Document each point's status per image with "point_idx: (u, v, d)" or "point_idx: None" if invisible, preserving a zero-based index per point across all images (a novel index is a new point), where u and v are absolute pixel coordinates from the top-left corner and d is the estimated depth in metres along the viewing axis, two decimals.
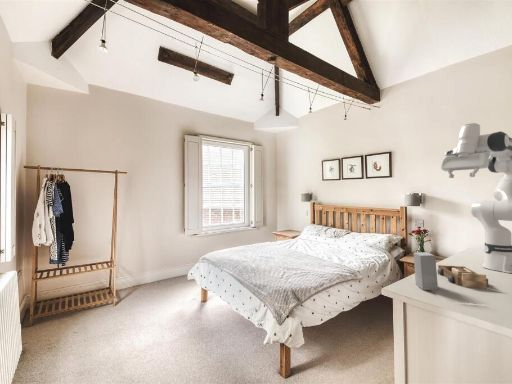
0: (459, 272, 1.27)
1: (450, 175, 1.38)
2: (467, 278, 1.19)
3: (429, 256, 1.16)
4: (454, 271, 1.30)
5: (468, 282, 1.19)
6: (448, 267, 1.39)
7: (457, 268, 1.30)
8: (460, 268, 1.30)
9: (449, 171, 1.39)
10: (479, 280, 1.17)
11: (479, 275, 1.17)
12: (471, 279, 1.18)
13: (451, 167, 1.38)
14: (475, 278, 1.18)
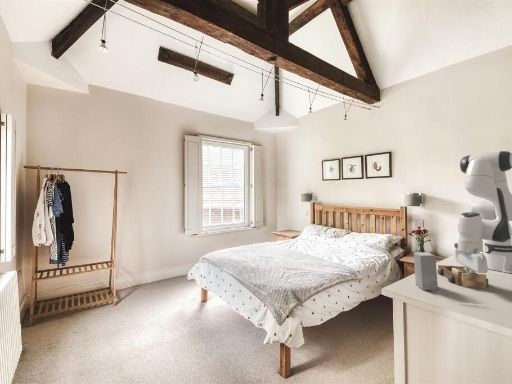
0: (459, 272, 1.27)
1: None
2: (467, 278, 1.19)
3: (429, 256, 1.16)
4: (454, 271, 1.30)
5: (468, 282, 1.19)
6: (448, 267, 1.39)
7: (457, 268, 1.30)
8: (460, 268, 1.30)
9: None
10: (479, 280, 1.17)
11: (479, 275, 1.17)
12: (471, 279, 1.18)
13: (461, 263, 1.25)
14: (475, 278, 1.18)
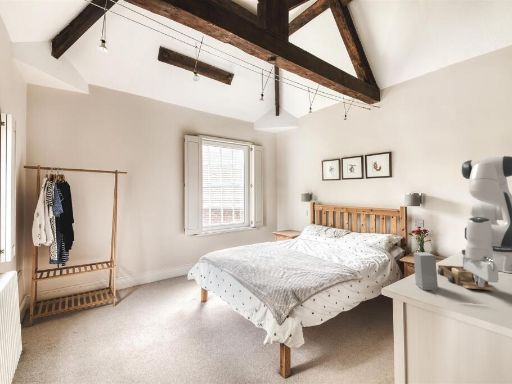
0: (459, 272, 1.27)
1: (476, 283, 1.15)
2: None
3: (429, 256, 1.16)
4: (454, 271, 1.30)
5: None
6: (448, 267, 1.39)
7: (457, 268, 1.30)
8: (460, 268, 1.30)
9: (475, 277, 1.16)
10: None
11: (486, 289, 1.13)
12: None
13: (469, 270, 1.19)
14: (480, 288, 1.14)
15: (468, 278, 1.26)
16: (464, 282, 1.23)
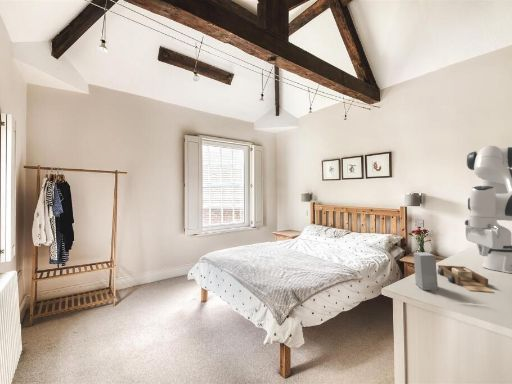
0: (459, 272, 1.27)
1: (479, 252, 1.12)
2: None
3: (429, 256, 1.16)
4: (454, 271, 1.30)
5: None
6: (448, 267, 1.39)
7: (457, 268, 1.30)
8: (460, 268, 1.30)
9: None
10: None
11: None
12: None
13: (472, 241, 1.16)
14: None
15: (468, 278, 1.26)
16: (464, 282, 1.23)
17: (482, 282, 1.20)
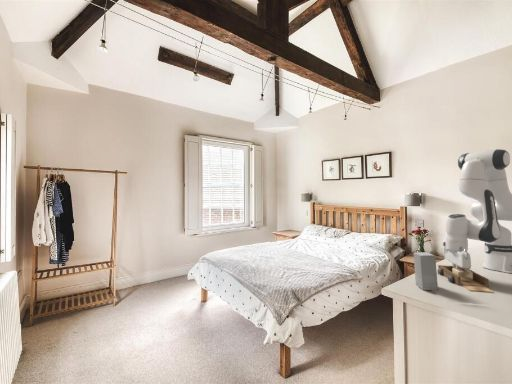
0: (460, 273, 1.26)
1: None
2: None
3: (429, 256, 1.16)
4: (455, 271, 1.29)
5: None
6: (448, 267, 1.39)
7: (458, 268, 1.29)
8: None
9: (453, 265, 1.35)
10: None
11: None
12: None
13: (449, 260, 1.38)
14: None
15: (469, 279, 1.25)
16: (464, 282, 1.23)
17: (482, 282, 1.20)
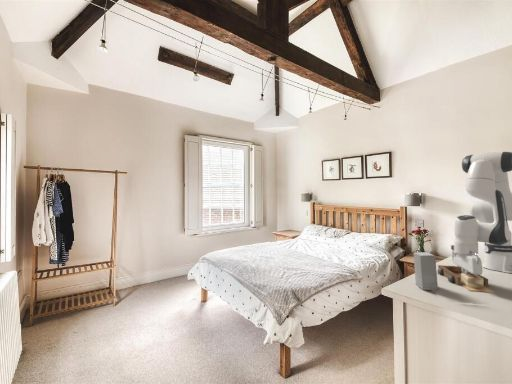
0: (469, 279, 1.17)
1: None
2: None
3: (429, 256, 1.16)
4: (464, 277, 1.20)
5: None
6: (448, 267, 1.39)
7: (467, 274, 1.20)
8: (470, 274, 1.20)
9: (463, 270, 1.26)
10: None
11: None
12: None
13: (457, 264, 1.29)
14: None
15: (479, 285, 1.16)
16: None
17: None
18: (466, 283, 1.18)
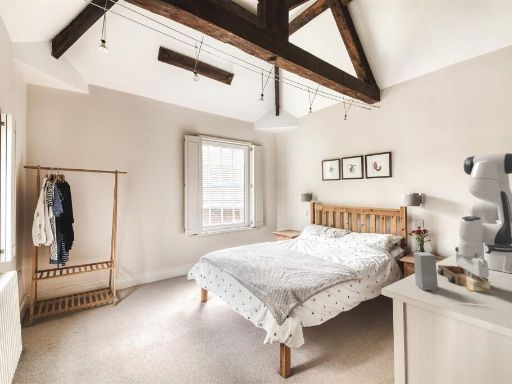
0: (475, 282, 1.13)
1: None
2: None
3: (429, 256, 1.16)
4: (469, 281, 1.16)
5: None
6: (448, 267, 1.39)
7: (473, 277, 1.16)
8: (476, 277, 1.16)
9: (467, 273, 1.22)
10: None
11: None
12: None
13: (462, 267, 1.25)
14: None
15: (485, 289, 1.12)
16: (464, 282, 1.23)
17: None
18: (472, 287, 1.14)
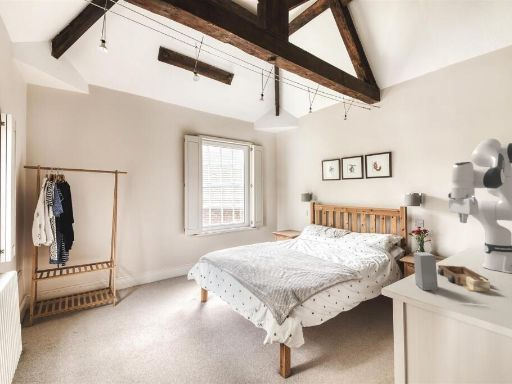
0: (475, 282, 1.13)
1: (460, 220, 1.28)
2: None
3: (429, 256, 1.16)
4: (469, 280, 1.16)
5: None
6: (448, 267, 1.39)
7: (473, 277, 1.16)
8: (476, 277, 1.16)
9: (459, 215, 1.29)
10: None
11: None
12: None
13: (454, 211, 1.32)
14: None
15: (485, 289, 1.12)
16: (464, 282, 1.23)
17: None
18: (472, 286, 1.14)
